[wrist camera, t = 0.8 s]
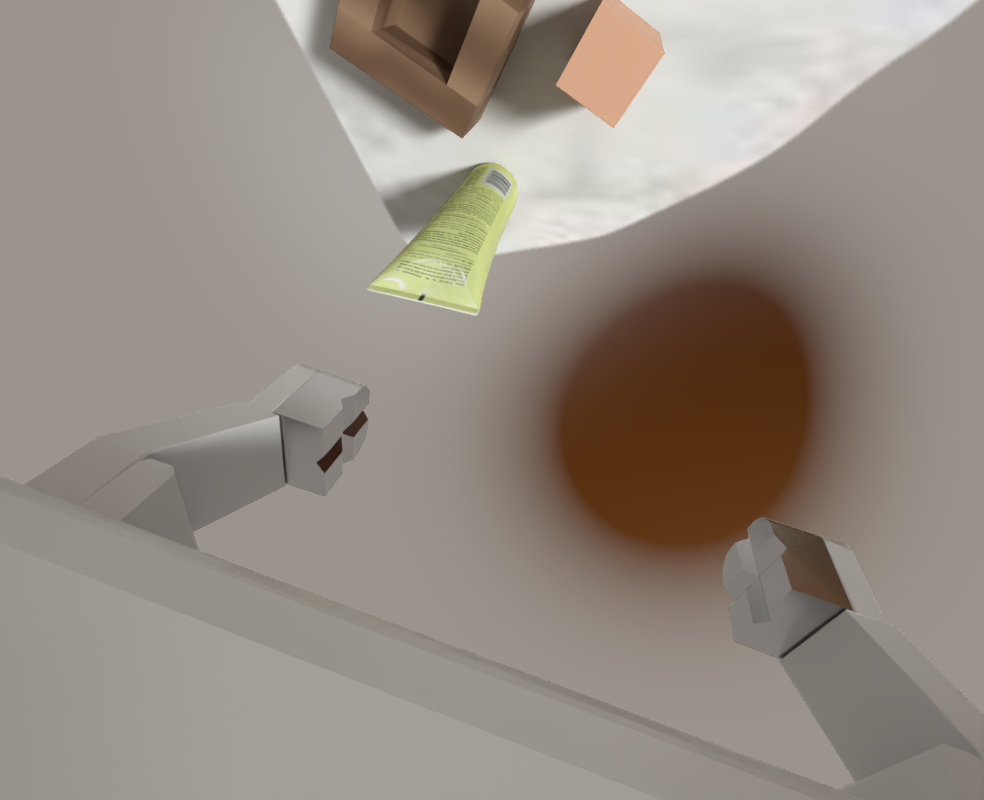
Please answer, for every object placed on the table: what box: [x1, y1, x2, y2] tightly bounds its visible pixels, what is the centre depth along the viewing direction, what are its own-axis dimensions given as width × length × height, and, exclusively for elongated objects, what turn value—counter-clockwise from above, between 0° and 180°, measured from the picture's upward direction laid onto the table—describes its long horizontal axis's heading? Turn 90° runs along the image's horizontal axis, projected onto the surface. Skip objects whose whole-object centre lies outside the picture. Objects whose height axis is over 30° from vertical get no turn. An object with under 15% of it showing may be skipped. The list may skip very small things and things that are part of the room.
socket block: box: [330, 0, 535, 138], centre depth 32 cm, size 11×11×6 cm
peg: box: [556, 0, 664, 128], centre depth 31 cm, size 4×4×9 cm
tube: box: [367, 163, 518, 315], centre depth 36 cm, size 6×5×20 cm
